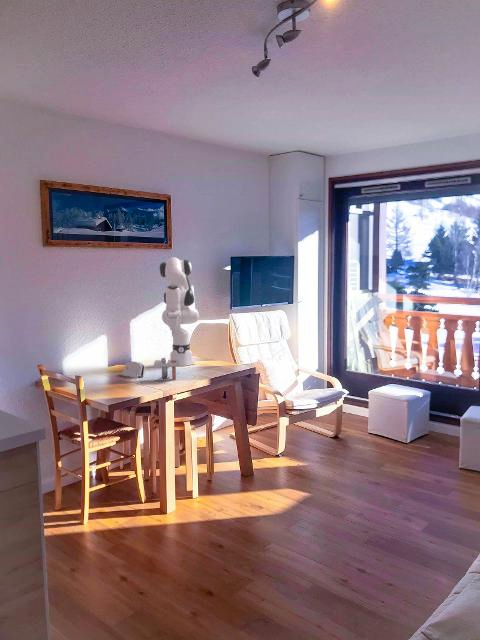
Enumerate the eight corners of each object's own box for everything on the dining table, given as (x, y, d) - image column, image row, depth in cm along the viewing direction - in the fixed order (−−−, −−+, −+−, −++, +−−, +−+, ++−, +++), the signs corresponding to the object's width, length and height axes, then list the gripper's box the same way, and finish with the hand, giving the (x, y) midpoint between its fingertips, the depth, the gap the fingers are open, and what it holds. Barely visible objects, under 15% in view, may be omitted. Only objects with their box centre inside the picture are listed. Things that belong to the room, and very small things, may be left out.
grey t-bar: (155, 378, 338) (154, 357, 337) (179, 377, 340) (179, 356, 339) (154, 381, 329) (153, 360, 327) (179, 380, 330) (179, 359, 329)
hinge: (120, 374, 349) (124, 359, 350) (126, 376, 352) (130, 360, 354) (137, 378, 338) (141, 362, 340) (143, 379, 342) (147, 364, 343)
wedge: (172, 379, 336) (171, 359, 334) (175, 378, 336) (175, 359, 335) (172, 379, 333) (171, 360, 332) (175, 379, 334) (175, 360, 332)
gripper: (168, 310, 344) (168, 332, 346) (167, 314, 324) (167, 338, 326) (178, 310, 345) (178, 332, 347) (178, 314, 324) (178, 337, 326)
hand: (173, 335), depth 336 cm, fingers open, 8 cm apart
